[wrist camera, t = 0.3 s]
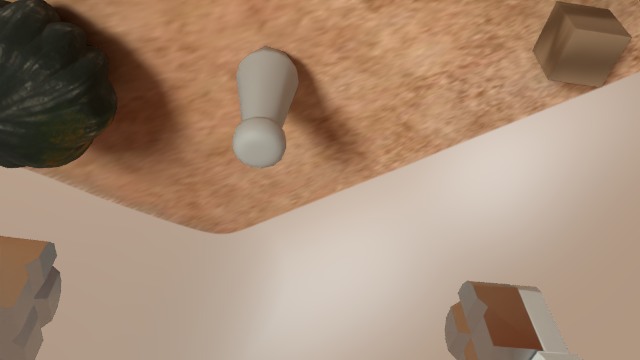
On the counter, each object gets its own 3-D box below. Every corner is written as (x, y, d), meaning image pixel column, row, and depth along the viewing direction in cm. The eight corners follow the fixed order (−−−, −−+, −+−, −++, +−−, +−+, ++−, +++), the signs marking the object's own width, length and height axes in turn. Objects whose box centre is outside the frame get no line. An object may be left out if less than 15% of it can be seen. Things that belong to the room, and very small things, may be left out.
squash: (53, 185, 56) (56, 218, 43) (-102, 98, 49) (-156, 105, 36) (133, 74, 58) (160, 73, 44) (-6, -25, 51) (-22, -62, 37)
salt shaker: (310, 58, 52) (309, 146, 42) (280, 99, 55) (272, 189, 46) (257, 27, 49) (243, 113, 40) (228, 72, 53) (209, 161, 43)
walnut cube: (556, 0, 48) (575, 28, 44) (608, 9, 48) (631, 37, 45) (532, 50, 51) (548, 79, 48) (581, 57, 52) (600, 87, 48)
